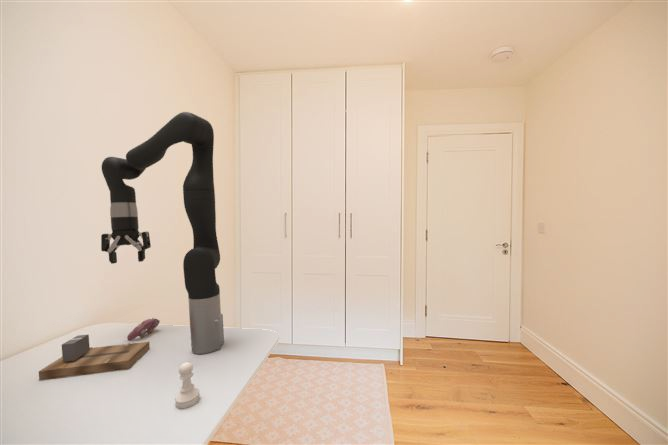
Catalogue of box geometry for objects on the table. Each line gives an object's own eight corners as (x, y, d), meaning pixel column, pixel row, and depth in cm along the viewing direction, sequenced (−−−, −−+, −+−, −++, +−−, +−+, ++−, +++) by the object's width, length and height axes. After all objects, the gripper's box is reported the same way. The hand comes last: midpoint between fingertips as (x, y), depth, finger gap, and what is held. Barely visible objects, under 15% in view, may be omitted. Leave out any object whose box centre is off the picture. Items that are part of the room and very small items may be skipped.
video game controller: (134, 345, 96) (141, 328, 95) (124, 339, 97) (131, 322, 96) (157, 333, 106) (163, 317, 105) (148, 328, 106) (154, 312, 106)
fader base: (149, 348, 90) (149, 340, 90) (129, 369, 78) (128, 359, 78) (73, 357, 86) (72, 349, 86) (39, 380, 74) (38, 370, 74)
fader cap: (89, 350, 84) (88, 334, 84) (74, 360, 78) (73, 343, 78) (78, 351, 84) (77, 335, 83) (62, 361, 78) (61, 344, 77)
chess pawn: (194, 391, 66) (192, 355, 66) (203, 399, 63) (201, 361, 63) (171, 403, 63) (169, 364, 62) (180, 412, 59) (178, 372, 59)
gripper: (152, 215, 100) (155, 259, 100) (108, 216, 97) (111, 262, 98) (141, 215, 92) (144, 262, 93) (93, 217, 90) (97, 265, 90)
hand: (127, 262), depth 95 cm, fingers open, 8 cm apart
